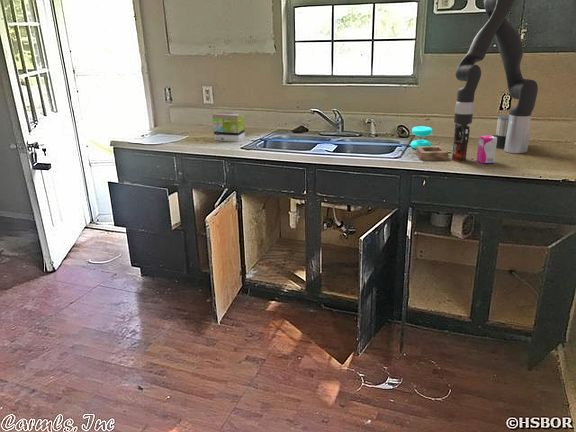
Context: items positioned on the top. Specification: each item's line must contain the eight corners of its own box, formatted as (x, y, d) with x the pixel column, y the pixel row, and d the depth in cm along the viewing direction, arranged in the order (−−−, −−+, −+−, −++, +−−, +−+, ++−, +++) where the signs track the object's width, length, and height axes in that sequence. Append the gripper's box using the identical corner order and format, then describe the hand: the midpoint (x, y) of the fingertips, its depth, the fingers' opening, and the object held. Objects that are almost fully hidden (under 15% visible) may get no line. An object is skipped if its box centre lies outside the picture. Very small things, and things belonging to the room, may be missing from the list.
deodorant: (449, 159, 215) (452, 126, 209) (456, 157, 218) (459, 124, 213) (461, 162, 211) (465, 128, 205) (468, 159, 214) (472, 126, 209)
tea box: (214, 141, 265) (211, 114, 260) (221, 137, 274) (219, 111, 269) (238, 142, 261) (237, 115, 255) (245, 138, 270) (244, 112, 264)
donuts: (426, 125, 239) (436, 128, 230) (424, 144, 243) (435, 149, 234) (408, 126, 237) (418, 130, 228) (406, 146, 241) (417, 150, 232)
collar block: (440, 153, 226) (441, 146, 225) (447, 159, 215) (448, 152, 213) (415, 153, 227) (416, 146, 225) (420, 160, 215) (421, 152, 214)
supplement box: (488, 160, 212) (491, 135, 208) (494, 163, 207) (497, 138, 202) (475, 160, 212) (478, 135, 208) (481, 164, 206) (484, 138, 202)
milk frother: (510, 150, 228) (515, 119, 223) (477, 146, 237) (481, 116, 232) (518, 144, 239) (522, 114, 233) (485, 140, 248) (489, 112, 242)
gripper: (477, 114, 200) (473, 153, 206) (467, 109, 213) (463, 145, 219) (459, 115, 200) (455, 153, 206) (450, 109, 214) (447, 145, 220)
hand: (459, 149), depth 213 cm, fingers open, 6 cm apart
